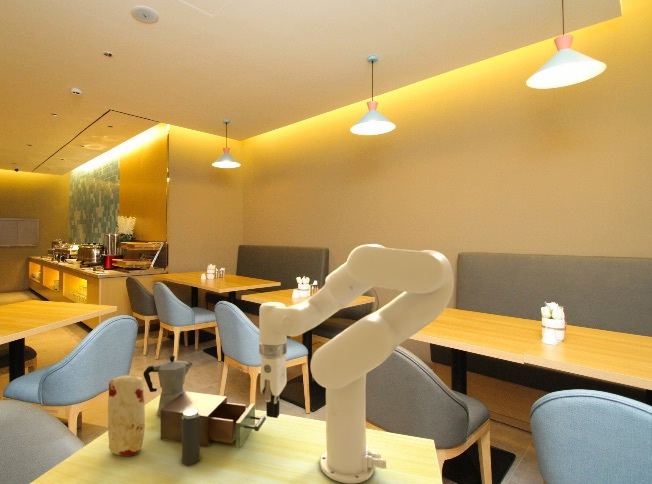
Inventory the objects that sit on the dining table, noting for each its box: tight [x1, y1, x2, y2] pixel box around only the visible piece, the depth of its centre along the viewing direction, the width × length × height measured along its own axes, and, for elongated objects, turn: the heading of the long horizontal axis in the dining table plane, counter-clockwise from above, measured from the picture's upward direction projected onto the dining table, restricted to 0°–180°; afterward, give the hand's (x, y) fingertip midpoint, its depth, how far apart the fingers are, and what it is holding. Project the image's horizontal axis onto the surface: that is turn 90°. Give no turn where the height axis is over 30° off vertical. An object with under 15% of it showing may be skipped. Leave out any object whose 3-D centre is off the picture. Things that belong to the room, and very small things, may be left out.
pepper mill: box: [181, 409, 201, 466], centre depth 89 cm, size 4×4×12 cm
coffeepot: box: [143, 355, 194, 416], centre depth 115 cm, size 15×9×18 cm, turn 114°
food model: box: [107, 374, 146, 457], centre depth 93 cm, size 10×7×20 cm
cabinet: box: [159, 390, 228, 448], centre depth 103 cm, size 15×13×8 cm
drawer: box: [209, 401, 267, 448], centre depth 100 cm, size 18×11×6 cm, turn 74°
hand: (272, 415), depth 96 cm, fingers closed
